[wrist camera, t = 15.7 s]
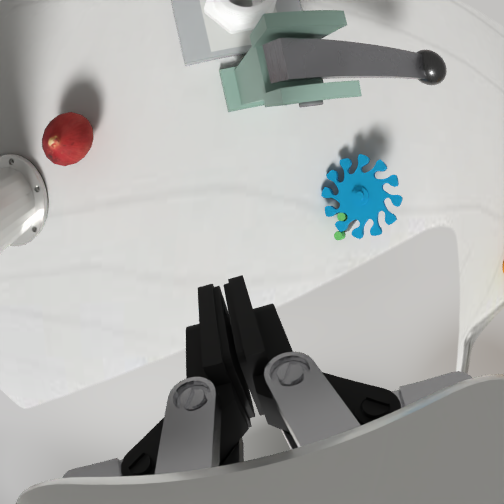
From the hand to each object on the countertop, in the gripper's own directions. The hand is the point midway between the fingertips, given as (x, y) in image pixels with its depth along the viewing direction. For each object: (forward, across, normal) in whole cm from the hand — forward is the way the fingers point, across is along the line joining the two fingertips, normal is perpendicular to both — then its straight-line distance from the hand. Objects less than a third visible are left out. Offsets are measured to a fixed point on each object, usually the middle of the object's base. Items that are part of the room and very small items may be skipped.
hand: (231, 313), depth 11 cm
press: (+26, -8, -15) cm, 31 cm away
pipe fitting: (+25, -7, -18) cm, 31 cm away
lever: (+13, -14, -9) cm, 21 cm away
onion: (+27, +13, -9) cm, 31 cm away
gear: (+26, -17, +6) cm, 32 cm away
